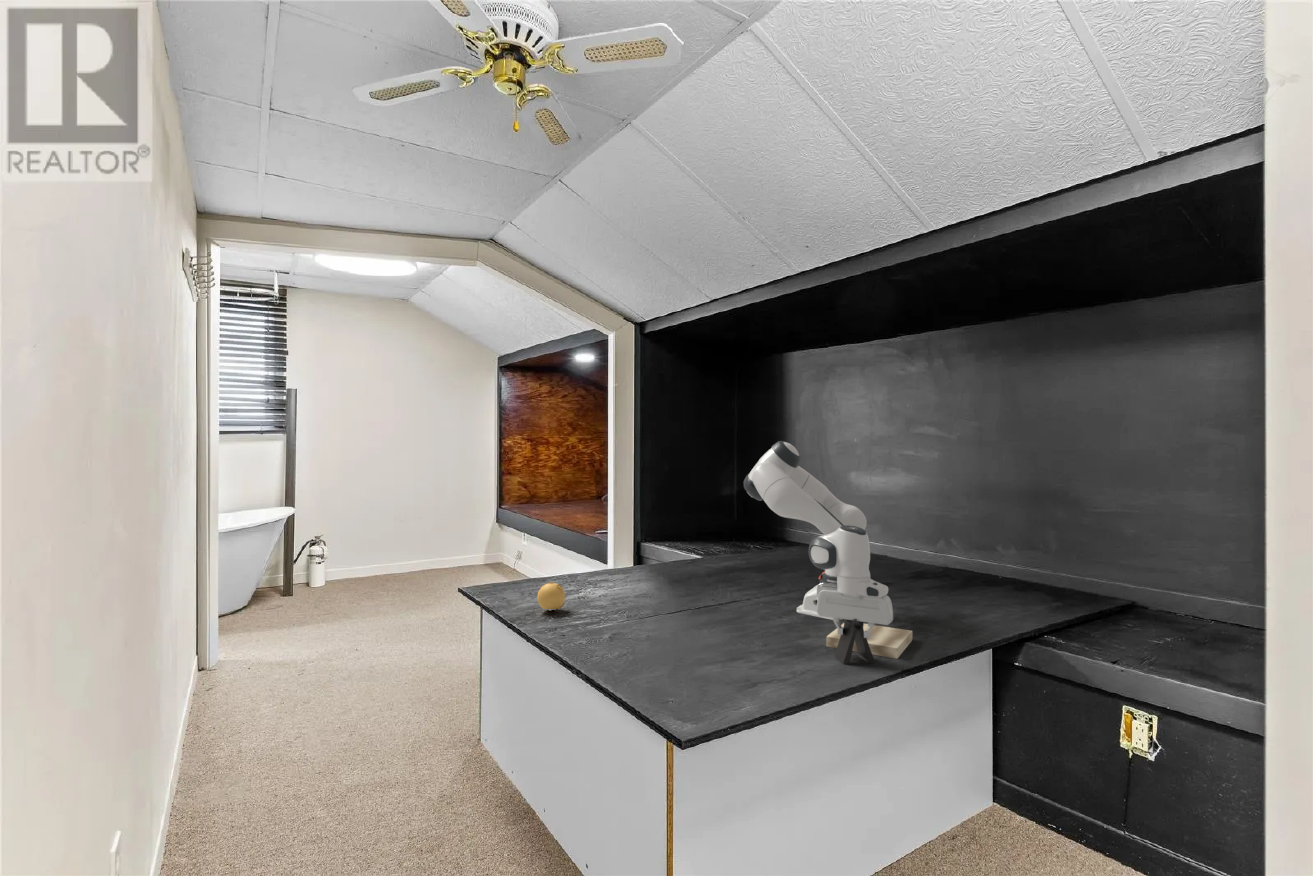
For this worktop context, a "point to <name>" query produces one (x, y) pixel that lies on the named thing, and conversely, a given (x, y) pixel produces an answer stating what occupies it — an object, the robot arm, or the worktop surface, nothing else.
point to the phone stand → (847, 641)
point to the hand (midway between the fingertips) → (854, 636)
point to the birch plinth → (879, 640)
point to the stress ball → (551, 596)
